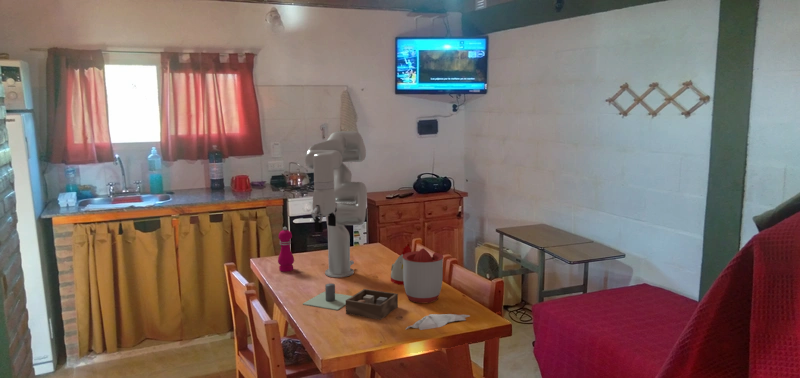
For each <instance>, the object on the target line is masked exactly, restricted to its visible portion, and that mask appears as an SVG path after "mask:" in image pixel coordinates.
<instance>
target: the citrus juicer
mask: <svg viewBox="0 0 800 378" xmlns="http://www.w3.org/2000/svg"><path fill="white" fill-rule="evenodd" d="M443 259H444V255H443V254H441V253H439V252H436V251H435V252H434V253H433V254H432V256H431V254H430V253H429V252H428V250H427V249H425V248H424V247H423V248H421V249H420V250H417V251H411V252H409V253H406V254H404V255H403V280H404V285H403V286H404V291H405V294H406V297H407V298H408V300H409V301H411V302H414V303H417V304H418V303H423V304H425V303H426V304H430V303H433V302H436V301H437V300H438V299H439V297H440V294H441V290H442V288H443V287H442V286H443V278H444V277H443V269H444V267H443V264H444V263H443V262H444V260H443Z"/></svg>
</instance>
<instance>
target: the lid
mask: <svg viewBox="0 0 800 378" xmlns="http://www.w3.org/2000/svg"><path fill="white" fill-rule="evenodd" d="M324 287H325V290H324V291H323V292H321V293H319V294H318V295H316V296H314V297H312V298H310V299H309V300H307V301H304V302H303V303H302V305H303V306H309V307H313V308H321V309H326V310H332V311H339V310H340V309H342V308H344V307H346V300H347V299H349V298H350V297H352V296H353V295H348V294H342V293H336V284H335V283H330V282H329V283H326V284H325V286H324Z"/></svg>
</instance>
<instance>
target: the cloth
mask: <svg viewBox="0 0 800 378" xmlns="http://www.w3.org/2000/svg"><path fill="white" fill-rule="evenodd" d="M468 317H469V318H470V317H471V315H469V314H456V313H454V314H452V313H447V314H445V313H444V314H440V313H439V314H436V313H435V314H434V313H433V314H432V313H431V314H430V313H429V314H428V315H425V316H424V317H422V318H421V319H418V320H417V321H416V322H414V323H413V324H412V325H408V326H407V327H406V328H405V331H406V330H407V329H410V328H413V329H419V330H420V331H421V330H422V331H423V330H430V329H436V328H442V327H445V326H446V325H447V324H448V323H453V322H455V323H456V322H460V321H461V322H462V321H466V320H467V319H466V318H468Z"/></svg>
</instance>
